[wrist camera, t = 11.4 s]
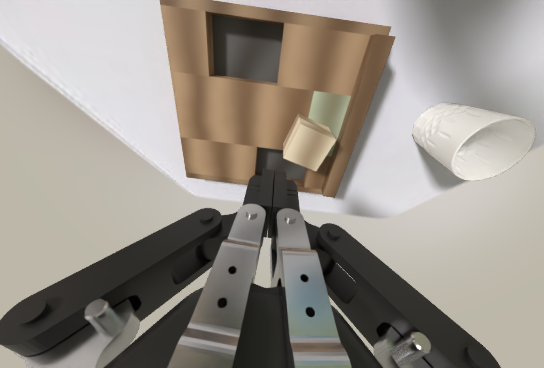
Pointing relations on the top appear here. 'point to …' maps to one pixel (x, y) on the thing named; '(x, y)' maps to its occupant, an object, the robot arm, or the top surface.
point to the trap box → (268, 87)
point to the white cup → (473, 139)
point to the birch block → (307, 143)
